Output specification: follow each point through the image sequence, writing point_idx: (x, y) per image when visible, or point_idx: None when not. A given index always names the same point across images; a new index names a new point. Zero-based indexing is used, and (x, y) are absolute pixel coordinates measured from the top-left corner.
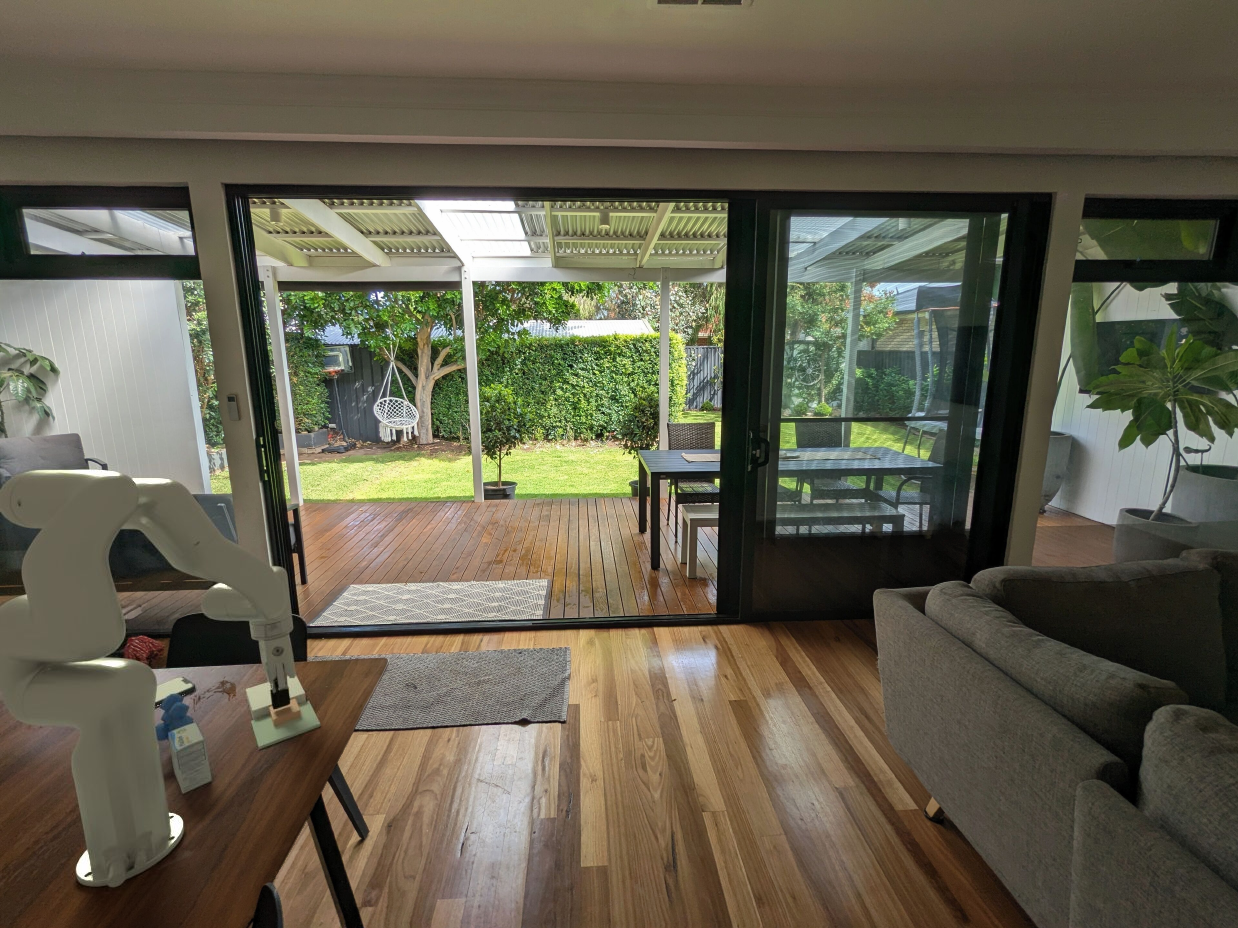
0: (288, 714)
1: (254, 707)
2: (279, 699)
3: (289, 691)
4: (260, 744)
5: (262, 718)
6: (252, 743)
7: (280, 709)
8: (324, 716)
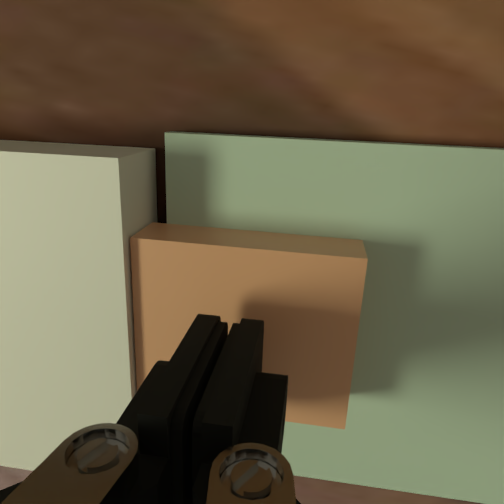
0: (355, 337)
1: None
2: (280, 452)
3: (14, 249)
4: (489, 493)
5: None
6: (401, 493)
7: None
8: (470, 87)
